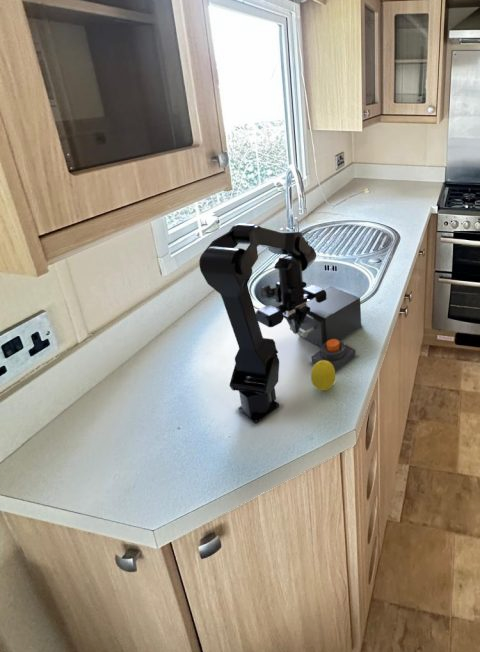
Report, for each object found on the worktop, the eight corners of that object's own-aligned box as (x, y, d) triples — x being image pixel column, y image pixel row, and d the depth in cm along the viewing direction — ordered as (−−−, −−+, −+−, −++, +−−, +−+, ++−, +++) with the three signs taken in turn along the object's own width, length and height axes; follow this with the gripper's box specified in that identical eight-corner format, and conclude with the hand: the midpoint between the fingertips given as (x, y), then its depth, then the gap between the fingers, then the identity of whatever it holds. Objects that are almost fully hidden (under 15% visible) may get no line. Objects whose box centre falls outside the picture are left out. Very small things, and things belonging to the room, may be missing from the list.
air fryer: (327, 349, 109) (325, 318, 106) (299, 333, 116) (296, 304, 112) (361, 326, 119) (360, 297, 115) (333, 313, 126) (331, 286, 122)
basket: (311, 355, 105) (308, 329, 103) (285, 340, 112) (282, 316, 109) (354, 326, 117) (353, 303, 114) (329, 315, 123) (327, 292, 121)
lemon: (314, 400, 92) (311, 371, 89) (311, 384, 97) (308, 356, 94) (338, 395, 93) (336, 366, 90) (334, 379, 98) (332, 351, 95)
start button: (333, 353, 101) (332, 348, 101) (324, 349, 103) (323, 343, 103) (342, 347, 104) (341, 341, 103) (333, 343, 106) (332, 337, 105)
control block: (331, 374, 99) (330, 361, 98) (311, 363, 104) (310, 350, 102) (355, 356, 106) (355, 343, 104) (336, 346, 110) (336, 334, 109)
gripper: (298, 260, 113) (302, 309, 118) (239, 283, 99) (246, 338, 104) (326, 270, 106) (329, 322, 112) (267, 296, 93) (273, 354, 98)
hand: (295, 333), depth 107 cm, fingers closed
